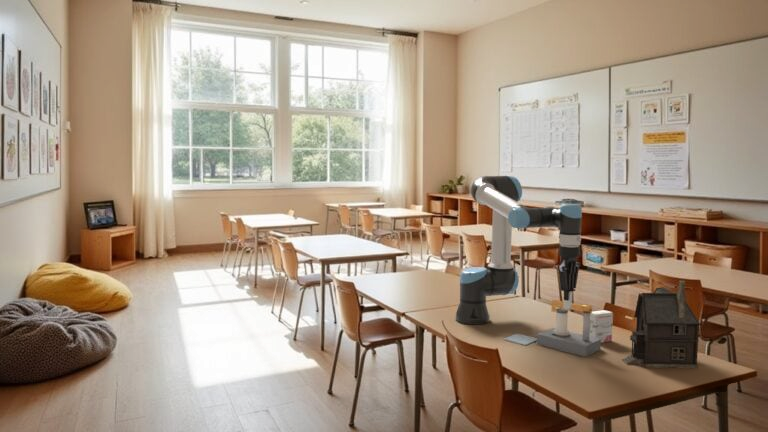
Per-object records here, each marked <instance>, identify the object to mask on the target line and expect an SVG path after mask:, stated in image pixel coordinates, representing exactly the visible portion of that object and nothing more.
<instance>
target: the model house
mask: <svg viewBox="0 0 768 432" xmlns="http://www.w3.org/2000/svg"><path fill="white" fill-rule="evenodd" d="M685 283H686V281H685V280H678V289H677V292H675V291H672V290H671V289H668V288H667V287H663V286H661V287H656V288H655V290H654V291H653V292H641V293H639V292H638V296H637V301H636V306H635V311H634V316H633V317H634V318H636V321H635V322H636V328H635V329H636V330H635V331H631V333H632V334H631V335H630V336H629V340H630V341H631V354H629V356H628V355H627V356H626V357H624V358H622V359H621V360H622V361H623V363H624V364H626V365H634V366H643V367H644V368H673V369H675V368H683V369H685V368H687V369H689V368H690V369H691V368H692V369H698V366H699V365H698V353H699V352H698V350H699V342H700V340H699V333H700V331H699V330H700V325H701V324H702V323H700V322H699V320H698V319H697V317H696V315H695V314H694V312H693V311H692V309H691V307H690V306H689V305H688V303H687V294H686V291H685Z"/></svg>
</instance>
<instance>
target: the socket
mask: <svg viewBox="0 0 768 432" xmlns="http://www.w3.org/2000/svg"><path fill="white" fill-rule="evenodd" d="M582 316H583V317H582V320H583V321H582V334H580V333H576V332H573V331H569V332H570V334H569V336H567V337H565V338H563V337H559V336H556V335H555V334H553V330H555V329H556V327H555V328H554V327H552V328H549V329H546V330H544V331H541V332H538V333H537V334H536V338H537V341H536V345H540V346H544V347H546V346H547V348H550V347H551V349H553V350H557V351H558V350H559V351H562V352H566V353H569V354H574V355H578V356H581V357H584V358H585V357H588V356H590V355H592V354H595V353H596V352H598V351H600V350H601V347H602V346H601V345H602V344H601V339H598V338H594V337H590V336H589V334H590V313H583V312H582Z"/></svg>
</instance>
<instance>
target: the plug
mask: <svg viewBox="0 0 768 432" xmlns="http://www.w3.org/2000/svg"><path fill="white" fill-rule="evenodd" d="M555 312H556V313H555V330H553V334H555V335H556V336H559V337H563V338H565V337H567V336H569V334H570V332H571V331H570V330H568V319H569V318H568V316H569V315H568V314H569V309H566V308H562V307H558V308H557V307H556V311H555Z"/></svg>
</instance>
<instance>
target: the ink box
mask: <svg viewBox="0 0 768 432" xmlns="http://www.w3.org/2000/svg"><path fill="white" fill-rule="evenodd" d="M613 321H614V313H613V312H612V311H609V310H605V309H603V310H595V311H594V310H592V313H590V334H589V336H590V337H594V338H598V339H601V343H608V342H612V340H613V325H614V324H613Z"/></svg>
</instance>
